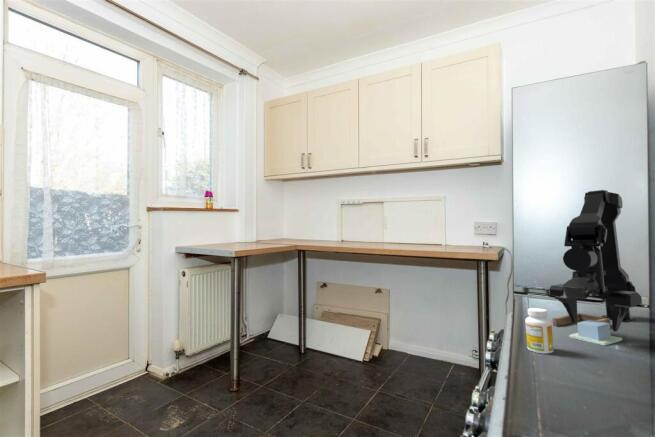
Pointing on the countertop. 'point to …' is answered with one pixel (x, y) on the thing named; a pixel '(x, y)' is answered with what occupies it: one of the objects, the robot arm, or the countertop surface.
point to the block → (594, 330)
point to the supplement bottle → (539, 331)
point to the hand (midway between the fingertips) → (594, 327)
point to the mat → (601, 342)
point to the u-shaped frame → (578, 319)
